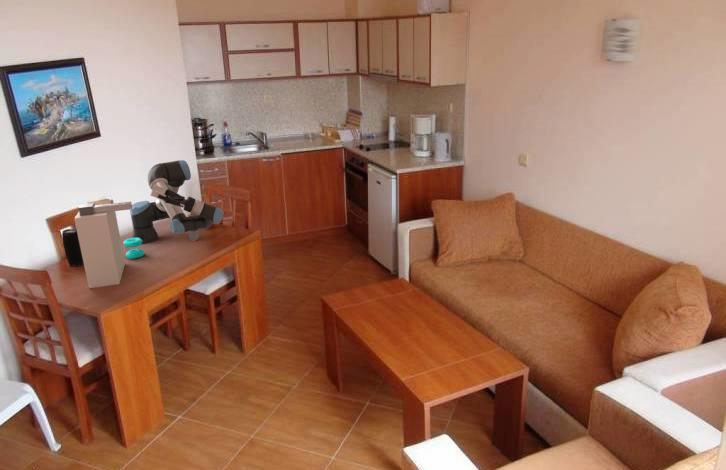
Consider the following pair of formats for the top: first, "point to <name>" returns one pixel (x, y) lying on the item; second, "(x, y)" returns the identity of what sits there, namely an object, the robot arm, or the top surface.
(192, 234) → the house plant
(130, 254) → the donuts
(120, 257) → the tall cream pillar block
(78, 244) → the portable speaker
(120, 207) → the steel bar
